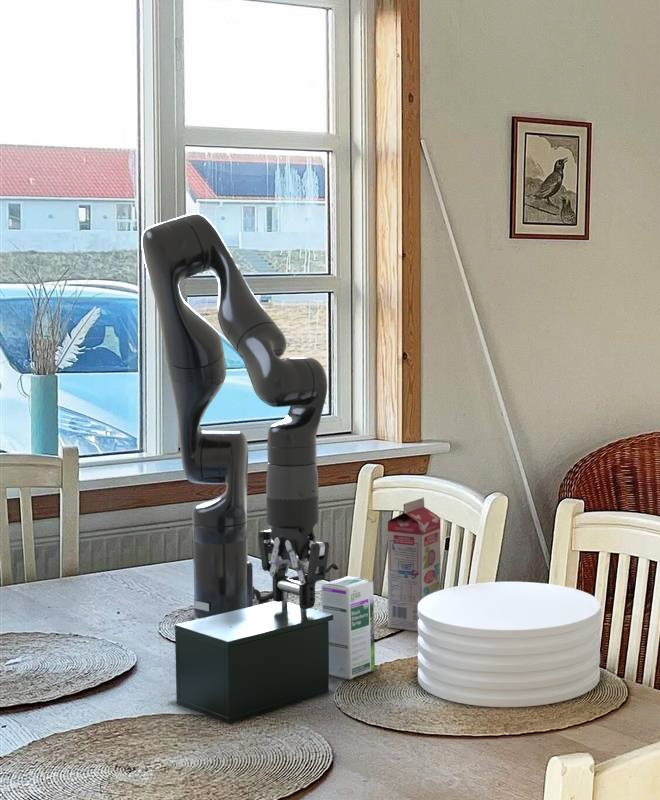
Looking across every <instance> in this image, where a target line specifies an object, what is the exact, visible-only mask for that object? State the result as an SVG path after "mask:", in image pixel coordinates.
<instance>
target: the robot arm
mask: <svg viewBox="0 0 660 800" xmlns="http://www.w3.org/2000/svg"><path fill="white" fill-rule="evenodd" d="M141 250H142V256H143V260H144V264H145V268H146V273H147V275H148V279H149V282H150V286H151V291H152V294H153V297H154V301H155V305H156V308H157V313H158V318H159V323H160V329H161V336H162V343H163V350H164V357H165V362H166V367H167V373H168V377H169V381H170V387H171V391H172V396H173V400H174V401H173V402H174V405H175V410H176V418H177V428H178V437H179V448H180V458H181V464H182V469H183V473H184V476H185V478H186V479H187V481H188V482H190V483H192V484H196V485H197V484H198V485H226V488H225V492H224V493H222V494H221V495H219V496H217V497H216V498H213V499H210V500H208V501H205V502H201V503H199V504H197V505H195V506H194V508H193V509H192V512H191V513H192V514H191V519H192V521H191V522H192V554H193V555H192V556H193V557H192V566H193V568H192V569H193V620H197V619H201V618H206V617H210V616H214V615H218V614H222V613H227V612H231V611H235V610H239V609H244V608H248V607H252V606H254V600H255V599H256V600H257V601H259V602H264V601H266V600H267V601H268V600H269V599H272V598H273V599H272V600H273V601H276V602H281V591H280V590H279V589H278V588H277V582H278V580H279V579H280V578H287V579H291V580H295V581H299V582H300V584H299V596H298V597H299V599H298V600H299V601H298V602H299V604H298V605H299V606H300V608H302V609H308V608H310V609H313V608H314V607H315V604H316V583H317V582H319V581H324V580H325V579H326V575H327V574H328V573H329V572H330V570H331V569H333V570H337V571H338V570H339V567H338V565H337V564H336V563H334V562H331V563H329V564H328V558H329V550H330V544H329V542H328V541H327V540H324V541H319V540H318V539H316V535H315V532H314V528H315V526H316V525H317V524H318V523H319V522H320V521H319V520H320V519H319V518H320V517H319V516H320V514H319V512H320V510H319V507H320V506H319V505H320V504H319V473H318V466H317V463H318V462H317V433H318V429H319V426H320V423H321V418H322V415H323V411H324V407H325V402H326V399H327V394H328V377H327V373H326V370H325V368H324V366H323V365H322V363H321V362H320V361H319V360H317V359H316V358H314V357H310V356H300V357H299V356H298V357H288V358H282V356H283V355H284V354H285V352H286V350H287V339H286V336H285V335H284V333H283V331H282V330H281V329H280V328H279V326H278V325H277V324H276V323H275V321H274V320H273V319H272V318H271V316H270V315H269V314H268V313H267V311H266V310H265V309H264V308H263V306H262V305H261V304H260V302H259V301H258V299H257V298H256V297H255V295H254V293H253V291H252V290H251V288H250V287H249V285H248V283H247V281H246V279H245V277H244V276H243V274H242V271H241V270H240V268H239V267H238V264H237V263H236V261H235V259H234V257H233V256H232V254H231V253H230V251H229V249H228V247H227V246H226V243H225V242H224V240H223V238H222V236H221V235H220V233H219V232H218V231H217V229H216V227H215V226H214V225H213V224H212V222H211V220H209V219H208V218H207V217H206V216H204V215H203V214H200V213H195V212H194V213H189V214H185V215H181V216H179V217H176V218H172V219H169V220H167V221H163V222H159V223H157V224H154V225H152V226H149V227H147V228H145V230H144V231H143V232H142V235H141ZM208 271H210V272H211V273H212V274H213V275H214V276H215V277H216V279H217V282H218V298H217V299H218V300H217V320H218V324H219V327H220V329H221V332H222V333H223V335H224V337H225V338H226V340H227V341H228V342H229V344H230V345H231V346H232V347H233V349H234V350H235V351H236V353H237V354H238V355H239V356H240V358H242V360H243V363H244V366H245V369H246V372H247V375H248V377H249V379H250V383H251V385H252V388H253V391H254V393H255V395H256V396H257V398H258V399H259V400H260V401H262V402H263V403H264V404H265V405H267V406H269V407H272V408H286V407H287V408H288V407H289V410H288V411H287V415H286V417H285V418H284V419H282V420H280V421H278V422H276V423H273V424H271V426H270V427H269V429H268V430H267V469H266V476H265V477H266V478H265V484H266V486H265V489H266V490H265V492H266V495H265V496H266V497H265V498H266V523H267V525H268V526H269V527H272V528H271V529H266V530H262V531H261V530H260V531H259V532H258V534H257V537H258V545H259V553H260V554H259V555H260V560H261V562H260V563H261V567H262V570H263V571H264V572H268V573H269V576H270V577H271V578H272V590H271V592H269V593H267V594H265V595H263V596H261V592H260V590H259V589H256V588H255V586H254V577H253V576H254V572H253V566H254V565H253V563H252V562H251V561H248V559H249V558H248V471H249V470H248V469H249V445H248V441H247V437H246V435H245V434H244V433H243V432H241V431H234V430H232V431H229V430H203V429H202V428H201V422H202V419H203V418H204V416H205V413H206V412H207V410H208V408H209V406H210V405H211V403H212V402H213V400H214V399H215V398H216V396H217V395H218V394H219V392H220V390H221V389H222V387H223V385H224V383H225V380H226V378H227V377H226V376H227V364H226V358H225V352H224V344H223V340H222V338H221V336H220V334H219V332H218V331H217V329H216V328H214V326H213V325H211V323H209V322H208V321H207V320H206V319H205V318H204V317H202V316H201V315H200V314H199V313H198V312H196V311H195V310H194V309H193V308H192V307H191V306H190V305H189V304H188V303H187V302H186V301H185V299H184V298H183V295H182V294H181V291H180V282H181V281H183V280H185V279H188V278H191V277H194V276H197V275H200V274H203V273H206V272H208ZM270 554H271V555H270ZM269 555H270V560H269ZM303 561H304V562H303ZM290 565H291V566H292V570H294V571H295V572H296V573H297V575H295V576H291V577H289V575H287V574H288V572H289V567H290ZM317 568H318V571H317ZM305 569H307V574H306V571H305ZM288 599H289V593H287V600H288Z"/></svg>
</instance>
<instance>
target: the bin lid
mask: <svg viewBox="0 0 660 800" xmlns="http://www.w3.org/2000/svg"><path fill="white" fill-rule="evenodd" d="M299 584H300V581H299V580H296V581H295V580H291V579H287V578H280V579H279V580H278V582H277V588H278V589H279V590H280V591H281V602H276V601H274V600H273V601H269V602H265V603H261V604H257V605H253V606H252V607H248V608H244V609H239V610H235V611H231V612H227V613H222V614H218V615H214V616H210V617H206V618H201V619H197V620H194V619H193V620H188V621H184V622H181V623H176V624H174V631H175V630H177V631H180V632H183V633H186V634H189V635H192V636H195V637H198V638H201V639H204V640H207V641H210V642H213V643H216V644H219V645H222V646H225V647H231V646H235V645H239V644H243V643H246V642H250V641H254V640H258V639H262V638H266V637H270V636H273V635H277V634H281V633H285V632H289V631H293V630H297V629H300V628H304V627H308V626H312V625H316V624H320V623H324V622H327V621H331V620H333V615H332V614H328V613H325V612H322V610H317V609H313V608H308V609H302V608H300V606H299V604H295V603H292V602H289V601H288V599H287V593H288V594H291V595H294V596H298V597H299Z"/></svg>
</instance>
